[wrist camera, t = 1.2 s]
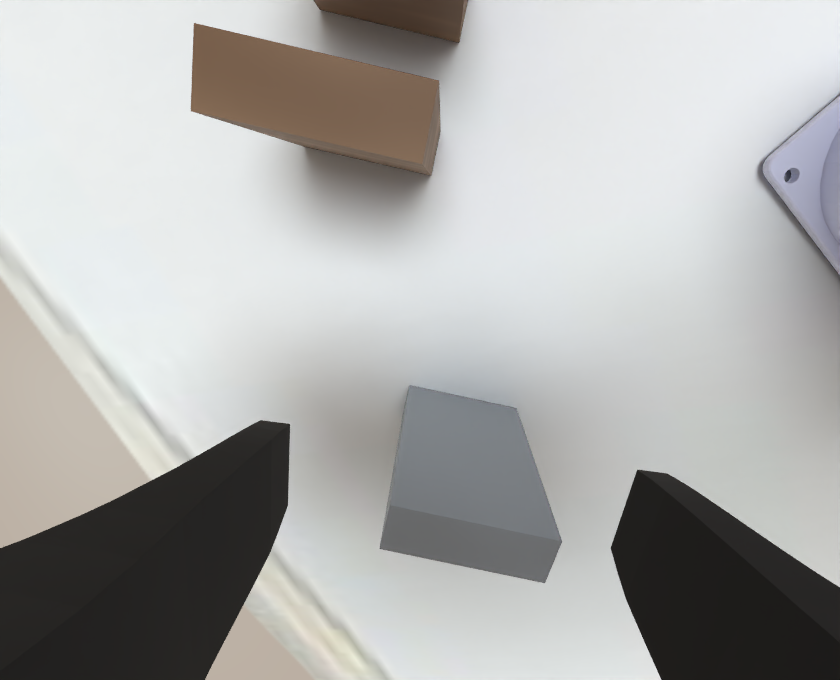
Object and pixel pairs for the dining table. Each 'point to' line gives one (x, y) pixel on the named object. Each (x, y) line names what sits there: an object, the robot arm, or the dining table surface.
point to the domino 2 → (316, 99)
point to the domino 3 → (468, 489)
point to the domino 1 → (406, 14)
